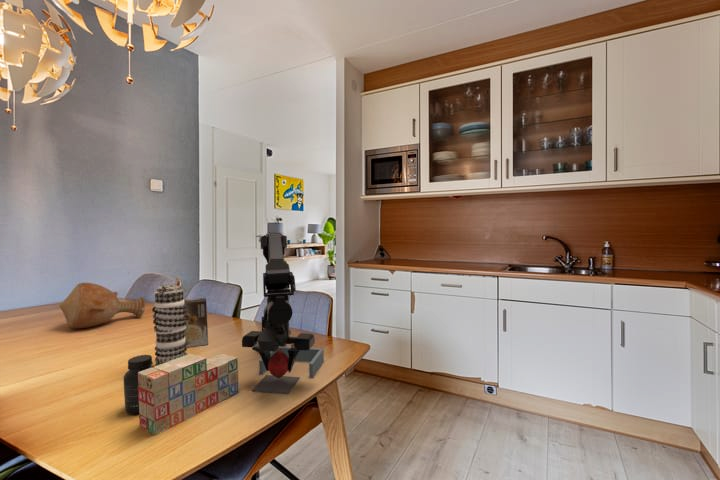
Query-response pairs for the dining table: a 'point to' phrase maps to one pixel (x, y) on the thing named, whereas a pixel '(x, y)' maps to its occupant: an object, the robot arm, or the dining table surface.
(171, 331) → the decorative candle
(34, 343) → the dining table surface
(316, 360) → the u-shaped frame
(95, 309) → the jug
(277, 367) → the onion
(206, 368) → the stack of blocks
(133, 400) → the supplement bottle
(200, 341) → the coffee box
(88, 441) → the dining table surface
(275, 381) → the mat
